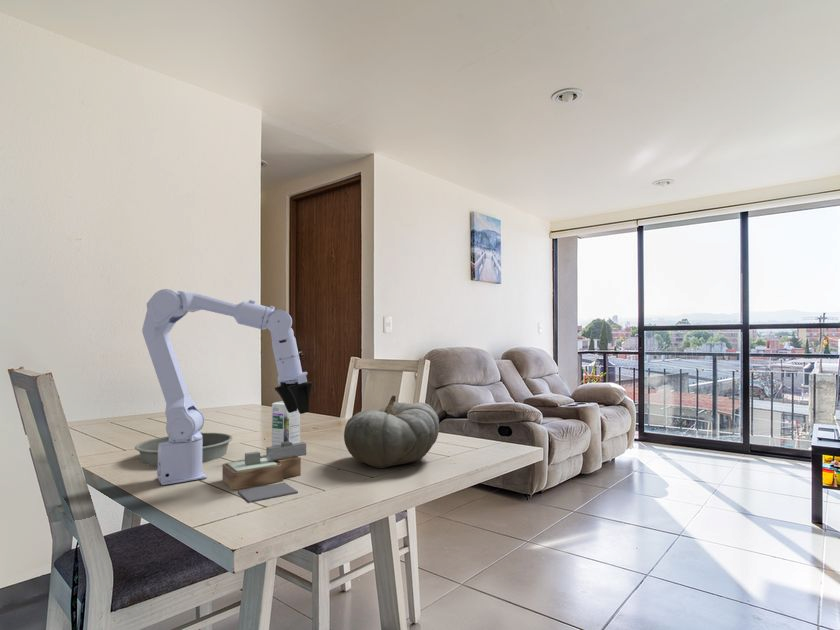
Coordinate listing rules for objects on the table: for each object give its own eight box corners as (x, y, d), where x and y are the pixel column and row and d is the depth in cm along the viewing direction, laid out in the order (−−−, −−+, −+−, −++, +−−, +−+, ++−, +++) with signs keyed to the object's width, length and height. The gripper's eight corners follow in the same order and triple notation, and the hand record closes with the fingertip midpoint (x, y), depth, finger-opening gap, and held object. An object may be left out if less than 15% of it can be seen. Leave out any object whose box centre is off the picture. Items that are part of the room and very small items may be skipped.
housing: (233, 490, 106) (233, 471, 106) (222, 479, 114) (222, 461, 114) (304, 477, 115) (304, 459, 115) (289, 468, 123) (289, 451, 123)
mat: (249, 502, 98) (249, 500, 98) (238, 492, 104) (238, 490, 104) (297, 492, 103) (297, 491, 103) (284, 483, 110) (284, 482, 110)
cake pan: (210, 443, 155) (210, 429, 155) (248, 455, 138) (248, 439, 138) (122, 458, 137) (122, 441, 138) (153, 474, 120) (153, 455, 121)
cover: (236, 474, 107) (236, 459, 107) (227, 466, 114) (227, 452, 114) (277, 467, 112) (277, 453, 112) (266, 460, 119) (266, 447, 119)
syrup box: (270, 455, 137) (270, 402, 137) (285, 451, 142) (285, 400, 142) (286, 457, 134) (286, 404, 135) (301, 453, 139) (300, 401, 140)
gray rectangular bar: (269, 460, 114) (269, 446, 114) (266, 459, 116) (266, 444, 116) (306, 455, 119) (306, 440, 120) (303, 453, 121) (303, 439, 121)
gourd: (463, 449, 129) (450, 384, 129) (397, 487, 111) (381, 412, 111) (397, 446, 146) (385, 388, 146) (330, 478, 128) (317, 413, 128)
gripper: (313, 352, 118) (325, 408, 118) (292, 356, 130) (302, 407, 130) (285, 359, 114) (297, 417, 114) (265, 362, 126) (276, 414, 126)
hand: (298, 412), depth 121 cm, fingers open, 7 cm apart
